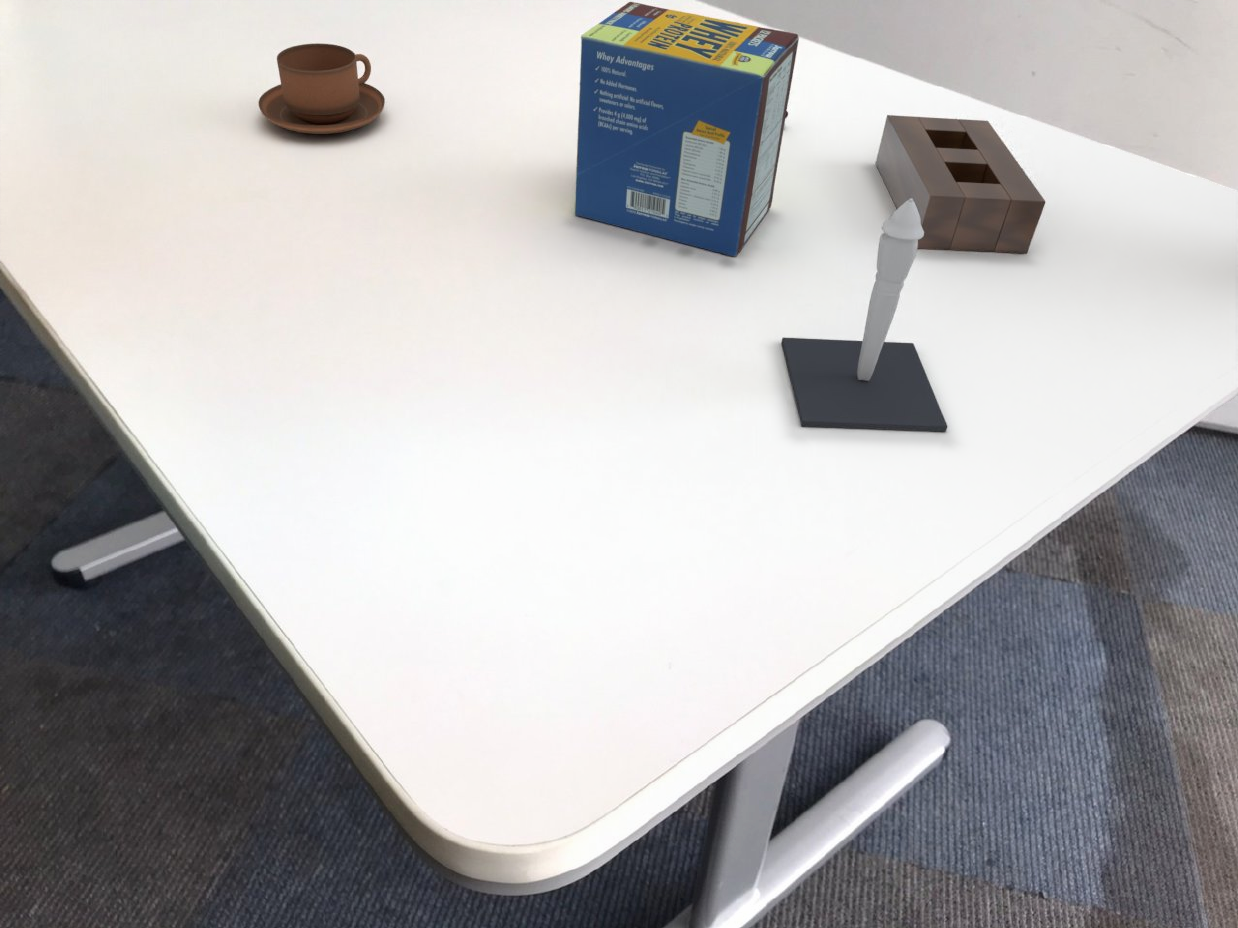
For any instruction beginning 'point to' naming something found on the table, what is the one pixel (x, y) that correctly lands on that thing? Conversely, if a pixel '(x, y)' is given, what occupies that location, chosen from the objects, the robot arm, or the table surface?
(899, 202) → the pen stand
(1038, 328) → the table surface
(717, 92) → the protein box
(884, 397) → the mat
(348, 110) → the cup and saucer
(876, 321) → the pen
